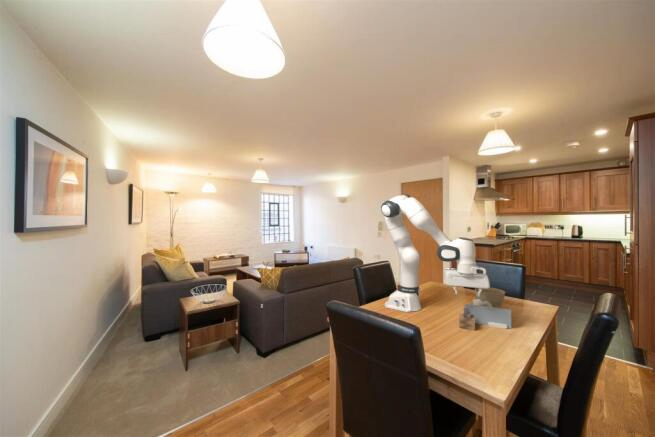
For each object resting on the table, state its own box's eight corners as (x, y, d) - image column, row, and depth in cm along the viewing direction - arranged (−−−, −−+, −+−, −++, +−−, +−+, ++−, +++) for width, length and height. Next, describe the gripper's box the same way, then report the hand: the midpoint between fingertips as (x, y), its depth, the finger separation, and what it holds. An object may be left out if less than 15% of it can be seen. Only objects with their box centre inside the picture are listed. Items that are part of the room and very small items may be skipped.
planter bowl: (509, 308, 159) (509, 290, 159) (498, 314, 150) (497, 295, 150) (482, 301, 172) (482, 285, 172) (470, 306, 163) (469, 289, 163)
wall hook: (501, 317, 143) (496, 300, 144) (481, 320, 145) (477, 303, 146) (495, 312, 151) (490, 295, 152) (476, 315, 153) (472, 299, 154)
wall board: (464, 322, 139) (464, 305, 139) (464, 319, 143) (464, 303, 143) (511, 329, 130) (511, 311, 130) (510, 326, 133) (510, 309, 133)
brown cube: (459, 328, 132) (459, 310, 132) (459, 323, 139) (459, 306, 138) (474, 330, 129) (474, 313, 129) (474, 325, 135) (474, 308, 135)
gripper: (444, 268, 136) (445, 294, 136) (489, 271, 126) (490, 299, 126) (444, 266, 141) (445, 291, 141) (488, 268, 131) (489, 295, 131)
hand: (467, 295), depth 133 cm, fingers open, 8 cm apart
